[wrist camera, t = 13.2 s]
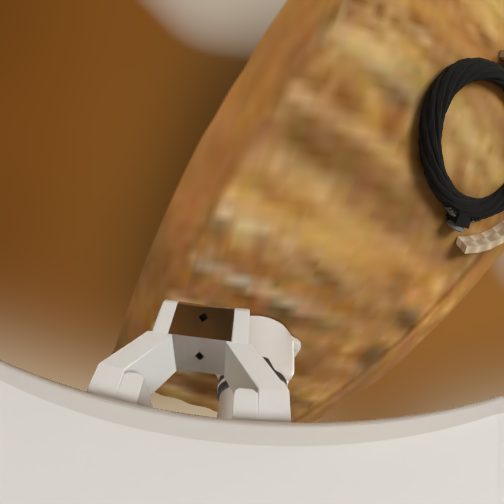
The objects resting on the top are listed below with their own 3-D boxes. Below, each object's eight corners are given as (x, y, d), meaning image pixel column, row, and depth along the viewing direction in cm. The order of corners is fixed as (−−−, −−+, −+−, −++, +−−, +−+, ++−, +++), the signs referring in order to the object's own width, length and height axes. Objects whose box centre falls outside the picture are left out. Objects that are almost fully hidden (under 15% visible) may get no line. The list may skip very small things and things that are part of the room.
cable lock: (552, 108, 27) (503, 248, 43) (539, 104, 30) (493, 238, 46) (448, 24, 25) (394, 213, 41) (434, 27, 28) (385, 203, 44)
